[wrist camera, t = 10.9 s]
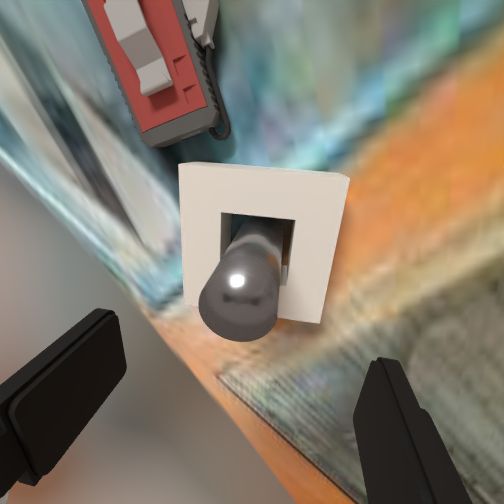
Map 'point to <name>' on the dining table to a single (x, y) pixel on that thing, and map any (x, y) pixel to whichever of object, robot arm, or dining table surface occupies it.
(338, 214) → the socket block
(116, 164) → the dining table surface
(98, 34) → the walkie-talkie
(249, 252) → the peg
